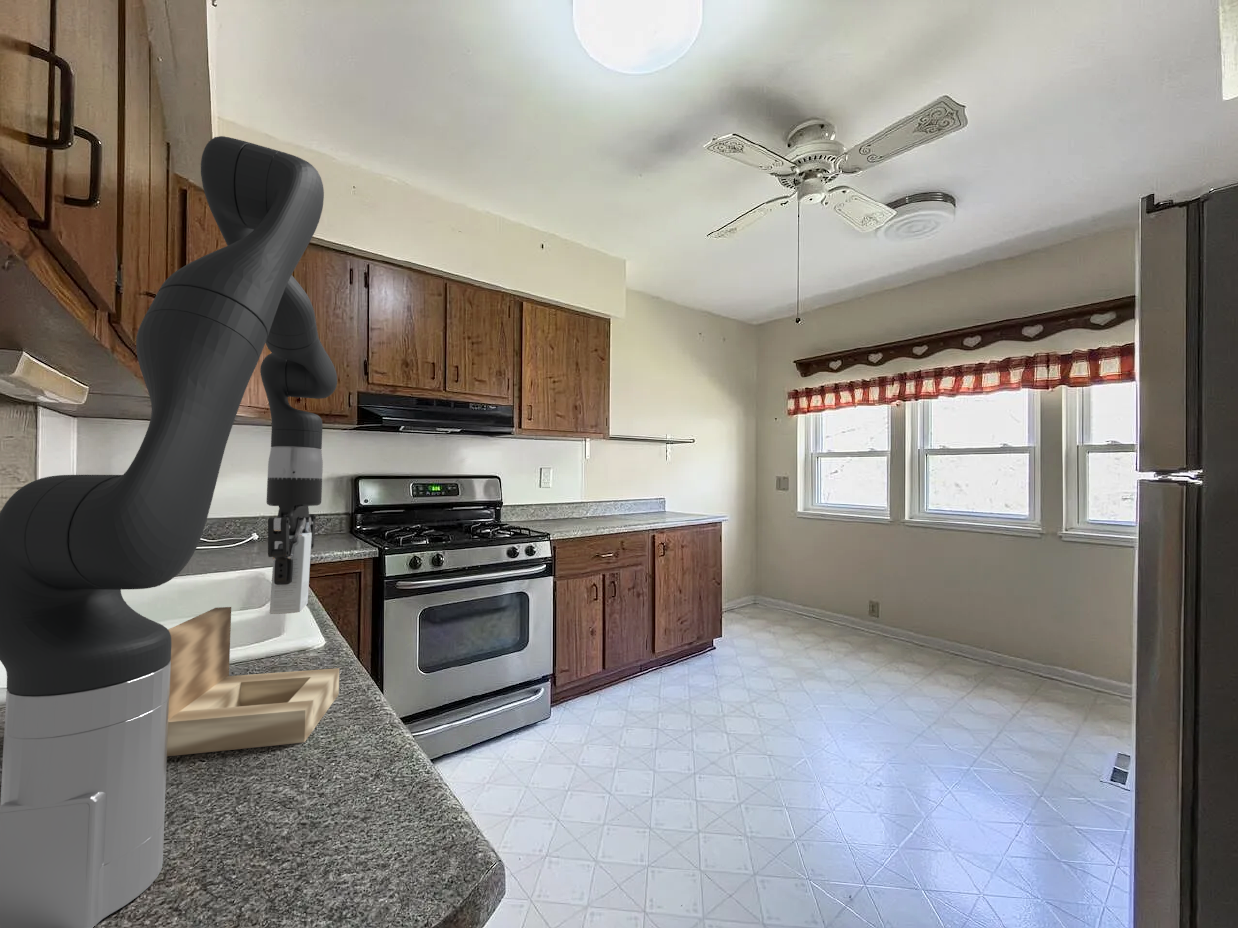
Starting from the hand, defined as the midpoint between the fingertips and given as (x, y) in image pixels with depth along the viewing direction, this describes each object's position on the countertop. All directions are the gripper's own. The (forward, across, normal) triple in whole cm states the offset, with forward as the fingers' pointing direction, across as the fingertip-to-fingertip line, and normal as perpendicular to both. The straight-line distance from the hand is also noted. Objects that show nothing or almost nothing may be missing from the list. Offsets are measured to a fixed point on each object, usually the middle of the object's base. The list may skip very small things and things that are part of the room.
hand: (291, 580), depth 82 cm
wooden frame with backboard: (+17, -12, -1) cm, 21 cm away
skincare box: (+5, 0, 0) cm, 5 cm away
